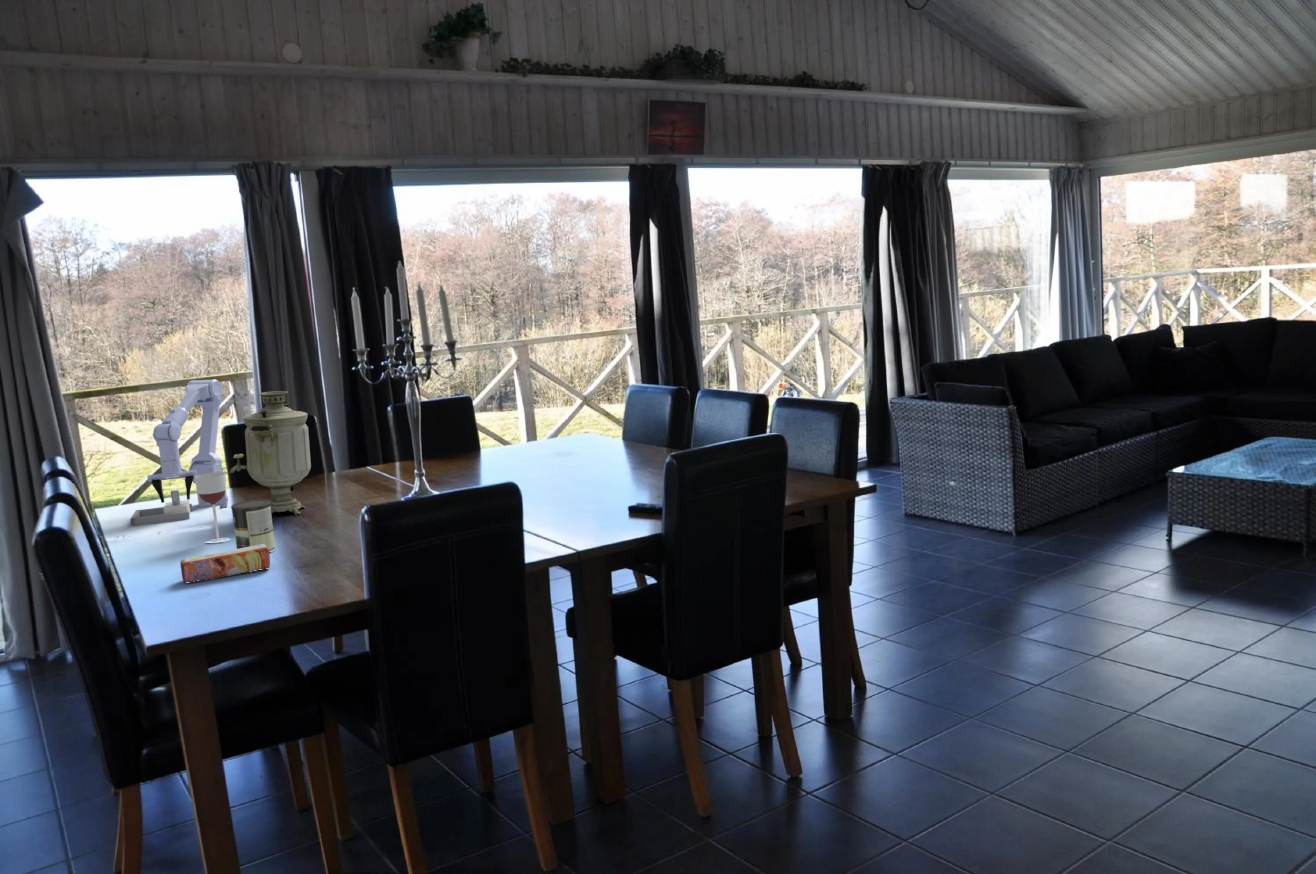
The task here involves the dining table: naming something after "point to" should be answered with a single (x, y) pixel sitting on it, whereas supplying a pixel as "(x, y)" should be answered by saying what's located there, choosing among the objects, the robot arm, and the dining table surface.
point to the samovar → (277, 449)
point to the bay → (157, 516)
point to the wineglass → (212, 492)
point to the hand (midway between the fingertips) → (175, 500)
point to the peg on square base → (176, 504)
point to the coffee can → (253, 524)
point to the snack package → (225, 563)
